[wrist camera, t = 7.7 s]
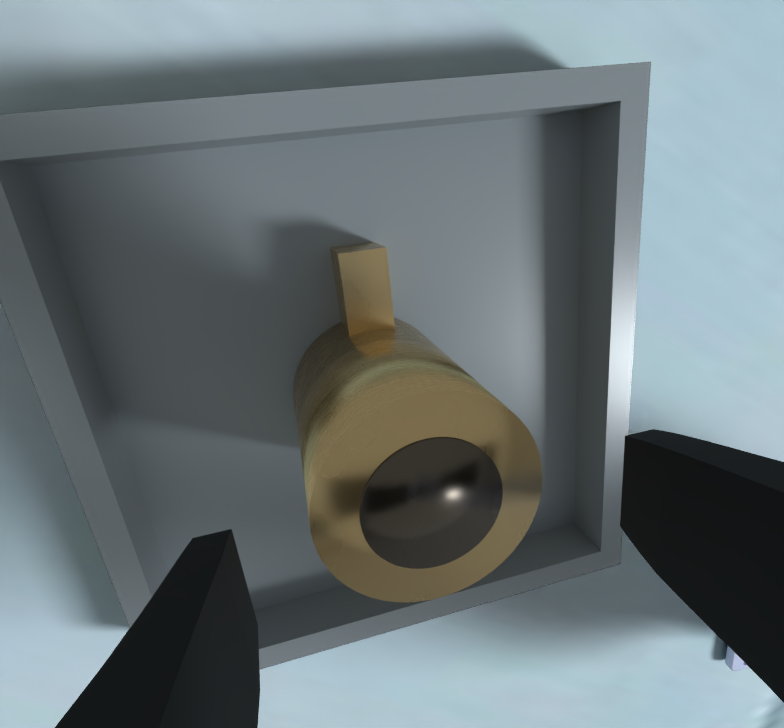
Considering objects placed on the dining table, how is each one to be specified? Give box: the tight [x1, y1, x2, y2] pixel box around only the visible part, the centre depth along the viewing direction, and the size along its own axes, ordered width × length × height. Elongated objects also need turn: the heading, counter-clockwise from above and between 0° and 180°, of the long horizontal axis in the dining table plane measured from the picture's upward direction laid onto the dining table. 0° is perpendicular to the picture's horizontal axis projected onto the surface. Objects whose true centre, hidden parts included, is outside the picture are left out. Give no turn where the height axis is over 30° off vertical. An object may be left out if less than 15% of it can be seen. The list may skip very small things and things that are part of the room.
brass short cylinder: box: [293, 242, 543, 602], centre depth 12 cm, size 7×5×6 cm
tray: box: [0, 62, 651, 670], centre depth 14 cm, size 16×16×2 cm
